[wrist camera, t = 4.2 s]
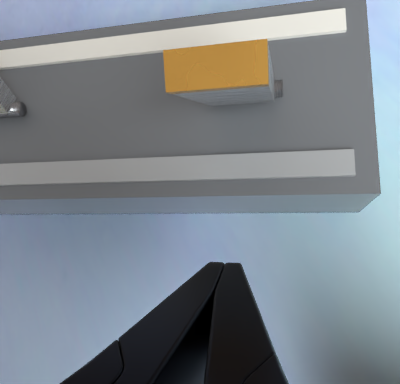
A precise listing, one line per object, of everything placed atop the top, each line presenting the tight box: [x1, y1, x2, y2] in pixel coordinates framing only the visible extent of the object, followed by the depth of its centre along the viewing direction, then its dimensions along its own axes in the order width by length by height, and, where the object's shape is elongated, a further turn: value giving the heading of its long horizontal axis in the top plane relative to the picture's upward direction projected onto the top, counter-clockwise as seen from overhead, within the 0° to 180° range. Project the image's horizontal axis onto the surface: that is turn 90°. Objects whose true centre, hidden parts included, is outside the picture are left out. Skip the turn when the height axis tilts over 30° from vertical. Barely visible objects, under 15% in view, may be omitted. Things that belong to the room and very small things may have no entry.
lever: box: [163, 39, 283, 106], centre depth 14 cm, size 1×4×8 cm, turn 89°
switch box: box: [0, 0, 381, 214], centre depth 22 cm, size 10×26×5 cm, turn 88°
